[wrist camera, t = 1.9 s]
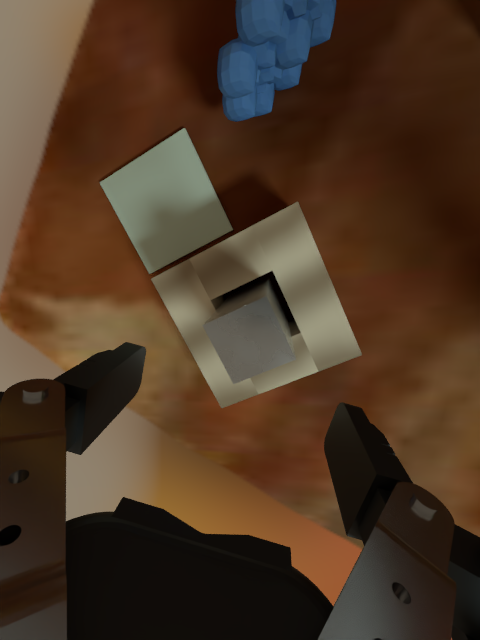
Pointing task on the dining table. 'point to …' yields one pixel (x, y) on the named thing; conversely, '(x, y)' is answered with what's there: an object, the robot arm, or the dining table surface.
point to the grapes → (269, 51)
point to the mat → (167, 202)
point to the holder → (297, 287)
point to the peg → (251, 332)
